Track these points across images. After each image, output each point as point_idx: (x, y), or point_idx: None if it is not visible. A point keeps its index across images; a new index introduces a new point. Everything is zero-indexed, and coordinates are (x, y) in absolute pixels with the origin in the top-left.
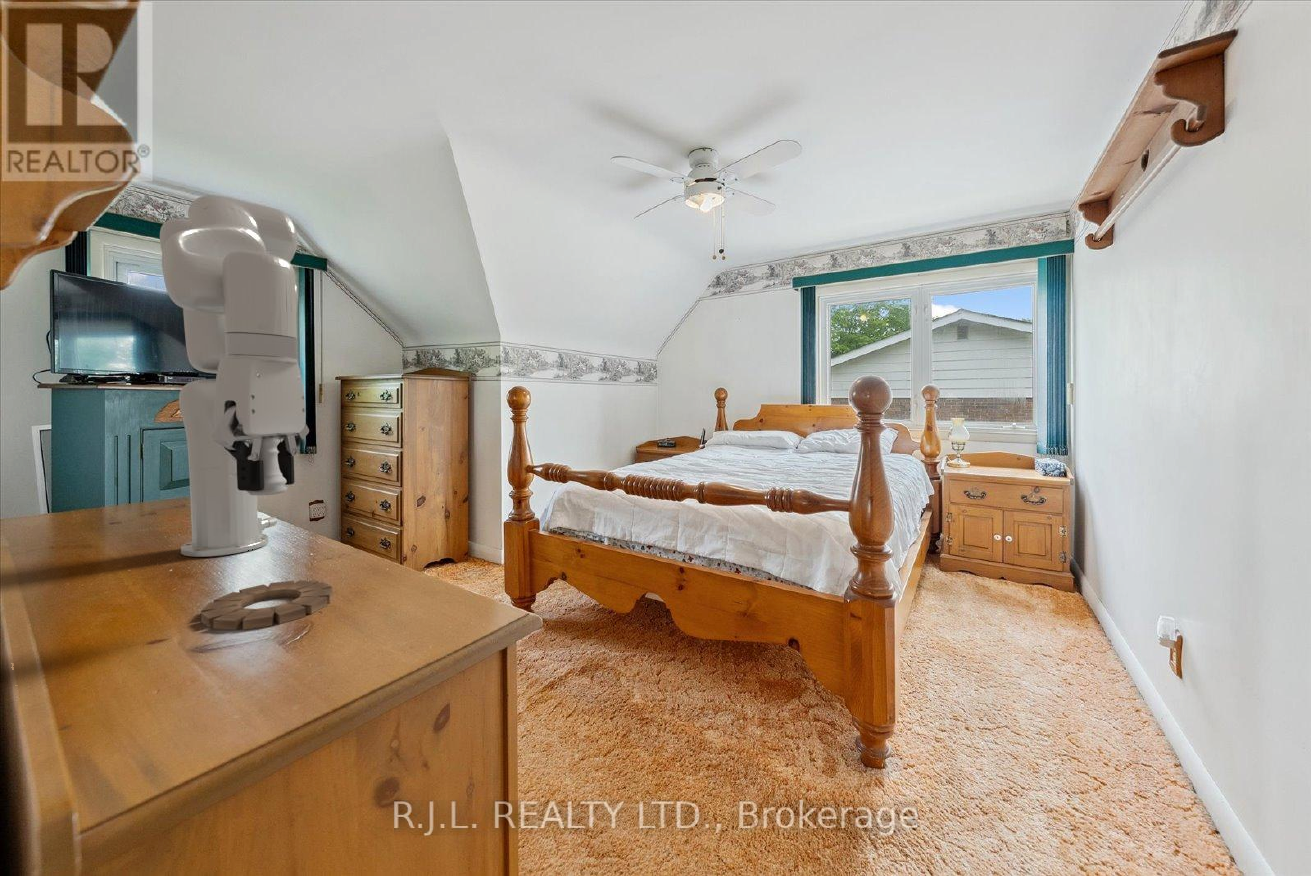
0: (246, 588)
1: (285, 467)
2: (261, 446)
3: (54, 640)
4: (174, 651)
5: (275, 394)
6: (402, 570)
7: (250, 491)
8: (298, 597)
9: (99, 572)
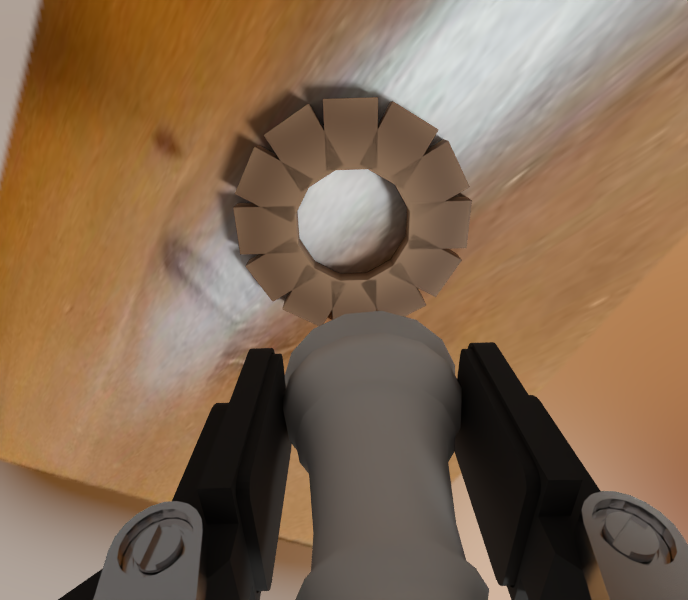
0: (405, 111)
1: (481, 501)
2: None
3: None
4: (152, 218)
5: None
6: (583, 337)
7: (288, 374)
8: (400, 244)
9: None
